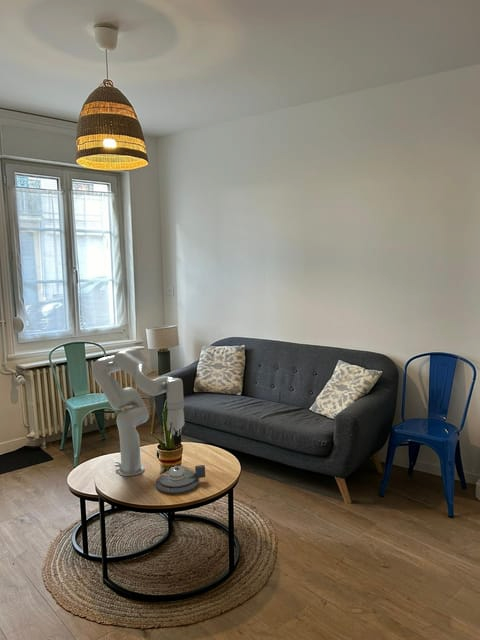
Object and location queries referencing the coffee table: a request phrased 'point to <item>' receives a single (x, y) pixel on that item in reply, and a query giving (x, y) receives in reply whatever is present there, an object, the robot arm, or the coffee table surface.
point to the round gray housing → (188, 479)
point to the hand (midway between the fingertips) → (177, 443)
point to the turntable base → (177, 490)
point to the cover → (176, 473)
